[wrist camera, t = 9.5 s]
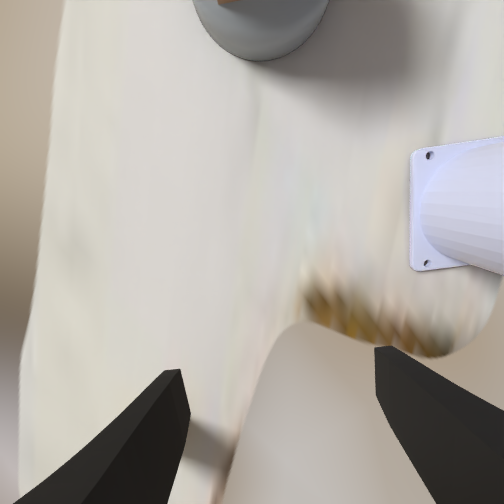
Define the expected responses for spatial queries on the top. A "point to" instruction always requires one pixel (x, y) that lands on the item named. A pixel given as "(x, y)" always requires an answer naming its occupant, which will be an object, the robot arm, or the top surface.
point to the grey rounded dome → (260, 25)
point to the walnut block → (225, 1)
